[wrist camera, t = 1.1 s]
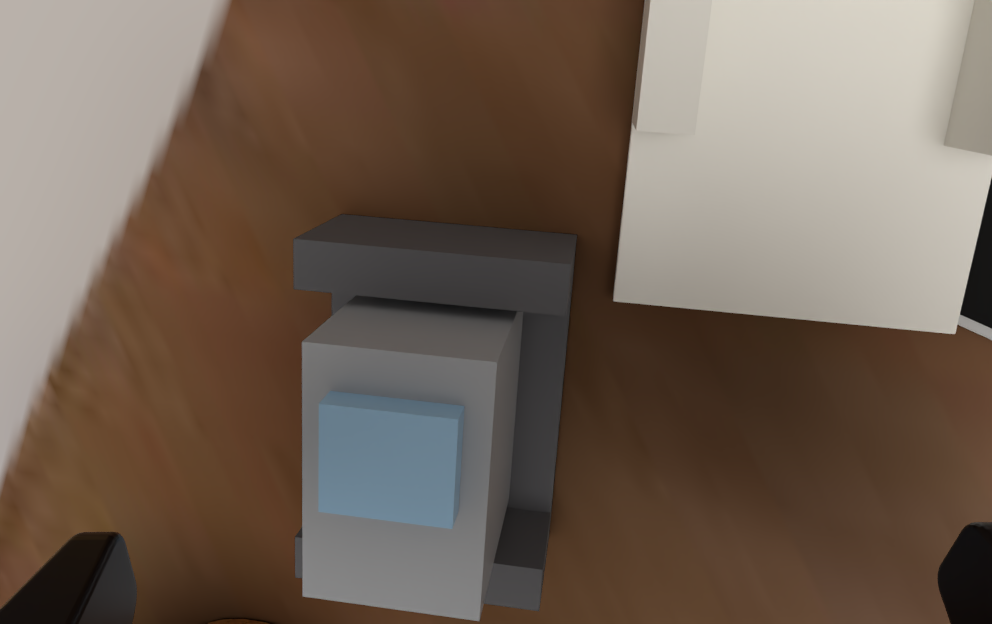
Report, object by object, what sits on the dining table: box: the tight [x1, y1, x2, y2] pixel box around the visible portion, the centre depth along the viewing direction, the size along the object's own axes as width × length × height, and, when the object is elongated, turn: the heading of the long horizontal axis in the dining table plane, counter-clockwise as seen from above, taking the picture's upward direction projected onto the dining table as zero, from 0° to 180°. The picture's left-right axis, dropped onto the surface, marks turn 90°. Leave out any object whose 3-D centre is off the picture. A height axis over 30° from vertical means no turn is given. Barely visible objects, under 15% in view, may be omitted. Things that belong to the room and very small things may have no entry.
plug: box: [302, 295, 523, 621], centre depth 20 cm, size 6×4×6 cm, turn 177°
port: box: [613, 0, 992, 334], centre depth 18 cm, size 10×8×4 cm
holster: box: [293, 214, 577, 611], centre depth 22 cm, size 9×6×4 cm
